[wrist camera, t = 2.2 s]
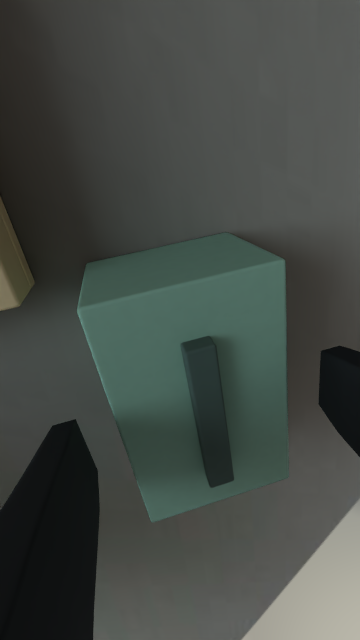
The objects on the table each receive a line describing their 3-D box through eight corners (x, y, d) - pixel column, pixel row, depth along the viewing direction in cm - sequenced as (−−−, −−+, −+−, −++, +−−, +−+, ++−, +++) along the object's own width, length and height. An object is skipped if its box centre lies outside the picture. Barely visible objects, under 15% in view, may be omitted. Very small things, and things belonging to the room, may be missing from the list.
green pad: (139, 435, 14) (153, 539, 10) (85, 263, 10) (73, 318, 6) (244, 404, 15) (297, 491, 11) (227, 231, 11) (298, 264, 7)
